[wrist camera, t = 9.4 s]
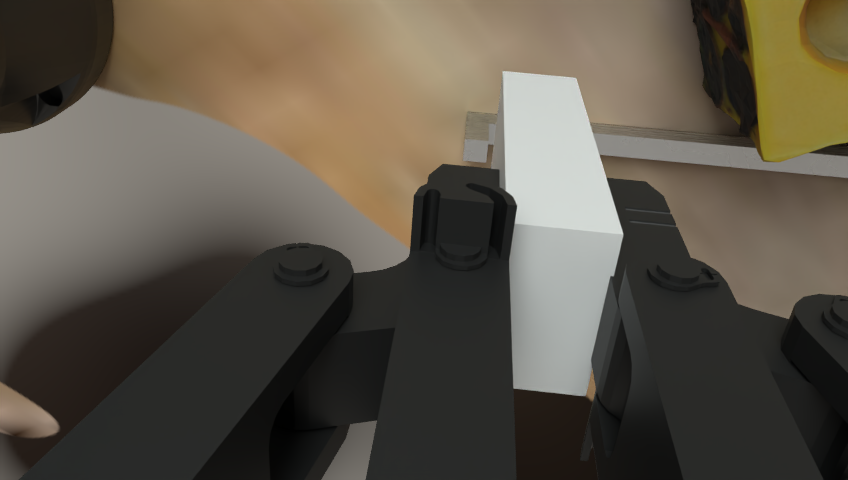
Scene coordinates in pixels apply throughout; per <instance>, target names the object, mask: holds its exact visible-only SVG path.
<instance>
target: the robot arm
mask: <svg viewBox="0 0 848 480" xmlns="http://www.w3.org/2000/svg"><path fill="white" fill-rule="evenodd" d="M112 32H113V9H112V0H0V134H1V133H10V132H16V131H21V130H24V129H28V128H31V127H34V126H36V125H39V124H42V123H44V122H46V121H48V120H50V119H51V118H53V117H55V116H56V115H58V114H59V113H61V112H62V111H64V110H65V109H67V108H68V107H69V106H71V105H73V104H74V103H75V102H77V101H78V100H79V99H80V98H81V97H83V96H84V95H85V94H86V93H87V91H89V89H90V88H91V87H92V86H93V84H94V83H95V82H96V80H97V78H98V77H99V75H100V73H101V71H102V69H103V67H104V65H105V62H106V60H107V57H108V53H109V50H110V45H111V40H112ZM592 368H593V374H594V380H595V386H596V391H595V396H594V400H593V404H592V408H591V412H590V416H589V421H588V425H587V428H586V433H585V437H584V441H583V445H582V450H581V456H580V460H583V461H588V458H589V454H590V450H591V448H593V447H594V454H595V460H596V467H597V473H598V480H848V297H846V296H841V295H824V294H817V295H811V296H806V297H803V298H802V299H801V300H799V301H798V302H797V303H796V304H795V306H794V308H793V311H792V313H791V316H790V318H789V319H786V318H782V317H779V316H775V315H772V314H768V313H765V312H761V311H758V310H754V309H751V308H748V307H745V306H742V305H739V304H737V302H736V300H735V298H734V296H733V294H732V292H731V290H730V288H729V286H728V283H727V282H726V281H725V280H724V278H723V277H722V276H721V275H720V274H719V272H717V271H716V270H714V269H713V268H711V267H710V266H708V265H707V264H705V263H703V262H701V261H698V260H696V259H693V258H691V257H690V255H689V253H688V250H687V248H686V246H685V244H684V241H683V239H682V237H681V234H680V232H679V230H678V228H677V227H676V223H675V221H674V219H673V216H672V214H670V209H669V207H668V205H667V203H666V200H665V198H664V196H663V195H662V194H660V193H659V192H658V191H657V190H655V189H654V188H653V187H652V186H650V185H649V184H648V183H647V182H644V181H634V180H623V179H613V178H606V175H605V172H604V169H603V165H602V162H601V159H600V155H599V152H598V149H597V146H596V142H595V139H594V136H593V132H592V129H591V126H590V122H589V119H588V116H587V113H586V109H585V106H584V103H583V99H582V96H581V93H580V89H579V86H578V83H577V80H576V78H571V77H561V76H550V75H539V74H528V73H518V72H507V71H503V75H502V83H501V91H500V99H499V107H498V115H497V123H496V131H495V139H494V147H493V155H492V163H491V169H489V168H479V167H469V166H459V165H448V164H442V165H441V166H440V167H439V168H437V169H436V170H435V171H433V172H432V173H431V174H430V175H429V177H428V182H427V184H425V185H423V186H421V187H420V188H419V189H418V190H417V192H416V193H415V195H414V203H413V218H412V232H411V246H410V254H409V257H408V258H407V259H406V260H405V261H403V262H401V263H400V264H398V265H396V266H393V267H390V268H387V269H384V270H378V271H372V272H363V273H354V271H353V268H352V265H351V262H350V260H349V259H348V258H346V257H345V256H344V255H343V254H342V253H340V252H339V251H336V250H333V249H331V248H328V247H325V246H321V245H313V244H309V243H298V244H296V243H295V244H286V245H283V246H279V247H276V248H273V249H269V250H267V251H265V252H264V253H262V254H260V255H259V256H257V257H256V258H254V259H253V260H252V261H251V262H250V263H249V264H248V265H247V266H246V267H244V268H243V269H242V270H241V271H240V272H239V273H238V274H237V275H236V276H235V277H234V278H233V279H232V280H231V281H230V282H229V283H228V284H226V285H225V286H224V287H223V288H222V289H221V290H220V291H219V292H218V293H217V294H216V295H215V296H214V297H213V298H212V299H210V300H209V301H208V302H207V303H206V304H205V305H204V306H203V307H202V308H201V309H200V310H199V311H198V312H197V313H196V314H195V315H193V317H191V318H190V319H189V320H188V321H187V322H186V323H185V324H184V325H183V326H182V327H181V328H180V329H179V330H178V331H176V332H175V333H174V334H173V335H172V336H171V337H170V338H169V339H168V340H167V341H166V342H165V343H164V344H163V345H162V346H161V347H160V348H158V349H157V350H156V351H155V352H154V353H153V354H152V355H151V356H150V357H149V358H148V359H147V360H146V361H145V362H144V363H142V364H141V366H139V367H138V368H137V369H136V370H135V371H134V372H133V373H132V374H131V375H130V376H129V377H128V378H127V379H126V380H124V381H123V382H122V383H121V385H119V386H118V387H117V388H116V389H115V390H114V391H113V392H112V393H111V394H110V395H108V396H107V397H106V398H105V399H104V400H103V401H102V402H101V403H100V404H99V405H98V406H97V407H96V408H95V409H94V410H93V411H91V412H90V414H88V415H87V416H86V417H85V418H84V419H83V420H82V421H81V422H80V423H79V424H78V425H77V426H76V427H75V428H73V429H72V430H71V431H70V432H69V433H68V434H67V435H66V436H65V437H64V438H63V439H62V440H61V441H60V442H59V443H57V444H56V445H55V446H54V447H53V448H52V449H51V450H50V451H49V452H48V453H47V454H46V455H45V456H44V457H43V458H42V459H40V460H39V461H38V462H37V463H36V464H35V465H34V466H33V467H32V468H31V469H30V470H29V471H28V472H27V473H26V474H25V475H23V477H21V478H20V479H19V480H321V479H322V477H323V476H324V474H325V472H326V471H327V469H328V467H329V466H330V464H331V462H332V460H333V459H334V457H335V455H336V454H337V452H338V450H339V448H340V447H341V445H342V444H343V442H344V440H345V439H346V436H347V433H348V429H349V426H350V424H353V423H361V422H368V421H375V420H377V424H376V429H375V435H374V440H373V445H372V450H371V455H370V460H369V466H368V471H367V476H366V480H516V455H515V454H516V453H515V426H514V425H515V423H514V393H513V388H515V389H524V390H534V391H544V392H553V393H561V394H570V395H580V396H586V392H587V388H588V384H589V380H590V375H591V371H592Z"/></svg>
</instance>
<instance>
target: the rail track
mask: <svg viewBox="0 0 848 480" xmlns="http://www.w3.org/2000/svg"><path fill="white" fill-rule="evenodd" d="M496 123H497V114H486V113H476V112H467V121H466V131H465V142H464V154H463V161H473V162H483V163H486V159H487V150H488V144H490V145H494V139H495V131H496ZM590 126H591V129H592V132H593V136H594V139H595V142H596V146H597V149H598V152H599V155H607V156H618V157H629V158H640V159H650V160H661V161H672V162H682V163H693V164H704V165H714V166H725V167H736V168H746V169H757V170H768V171H778V172H789V173H800V174H810V175H821V176H832V177H843V178H848V147H845V146H834V145H830V146H827V147H824V148H821V149H818V150H815V151H812V152H809V153H806V154H804V155H801V156H797V157H794V158H791V159H788V160H785V161H782V162H763V161H762V159H761V157H760V156H759V154H758V152H757V149H756V146H755V143H754V141H753V140H752V139H751V138H747V137H736V136H726V135H715V134H704V133H693V132H682V131H671V130H660V129H649V128H639V127H628V126H617V125H606V124H595V123H590Z"/></svg>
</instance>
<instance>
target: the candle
mask: <svg viewBox="0 0 848 480" xmlns="http://www.w3.org/2000/svg"><path fill="white" fill-rule="evenodd" d="M691 5H692V8H693V15H694V19H693V22H694V23H695V24H697V31H698V37H699V41H700V53H701V58H702V64H703V68H704V73H705V74H704V80H703V87H704V89H705V91H706V92H707V94H708V95H709V97H711V98H712V100H713V102H714V104H715V106H716V107H717V108H720V109H721V110H722V111H724V112H725V113H727V114H728V115H729V116H730V117H732V118H733V119H734V120H735V121H736V122H737V123H738V124H739V125H740V128H739V132H740V133H741V134H743V135H746V136H748V137H750V138H751V139H752V140H753V141H754V143H755V146H756V149H757V152H758V154H759V156H760V157H761V159H762V161H763V162H782V161H785V160H788V159H791V158H794V157H797V156H801V155H804V154H806V153H809V152H812V151H815V150H818V149H821V148H824V147H827V146H830V145H835V144H841V143H847V142H848V0H691Z"/></svg>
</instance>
